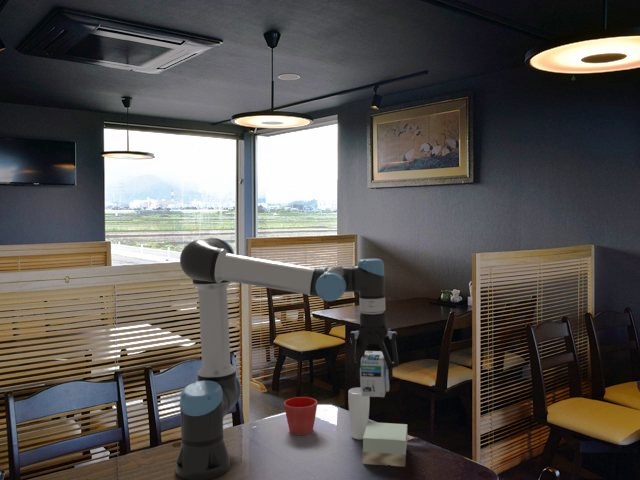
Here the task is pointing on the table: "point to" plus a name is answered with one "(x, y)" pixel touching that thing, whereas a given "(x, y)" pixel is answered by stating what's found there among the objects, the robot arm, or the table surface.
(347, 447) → the table surface
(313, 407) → the flower pot
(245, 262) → the robot arm
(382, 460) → the birch slab
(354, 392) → the drinking glass
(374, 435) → the sage slab
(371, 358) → the light bulb box
